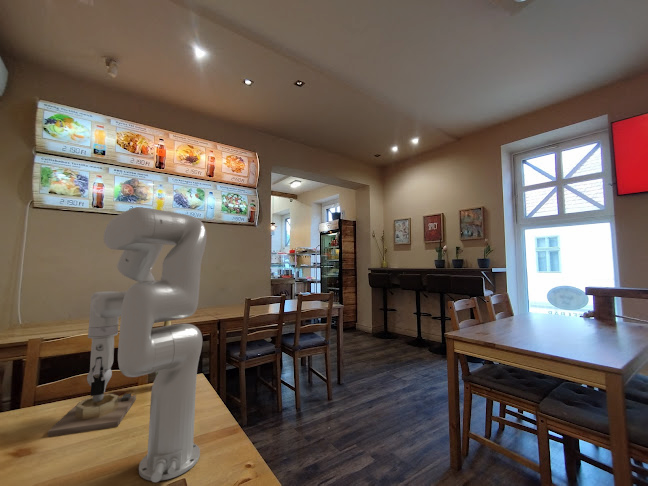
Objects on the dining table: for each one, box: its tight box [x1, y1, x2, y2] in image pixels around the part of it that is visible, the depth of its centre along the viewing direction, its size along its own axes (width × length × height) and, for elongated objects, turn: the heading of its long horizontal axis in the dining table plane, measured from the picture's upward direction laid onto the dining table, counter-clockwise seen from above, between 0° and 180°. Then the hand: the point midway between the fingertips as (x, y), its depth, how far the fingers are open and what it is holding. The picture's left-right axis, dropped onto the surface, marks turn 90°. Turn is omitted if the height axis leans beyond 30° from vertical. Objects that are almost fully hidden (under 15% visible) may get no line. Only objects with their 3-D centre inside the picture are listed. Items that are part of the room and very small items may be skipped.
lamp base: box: [47, 392, 137, 438], centre depth 88 cm, size 18×16×3 cm
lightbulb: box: [86, 368, 113, 403], centre depth 89 cm, size 6×6×11 cm
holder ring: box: [75, 393, 120, 420], centre depth 89 cm, size 10×10×3 cm
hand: (99, 390), depth 89 cm, fingers closed on lightbulb, 5 cm apart
